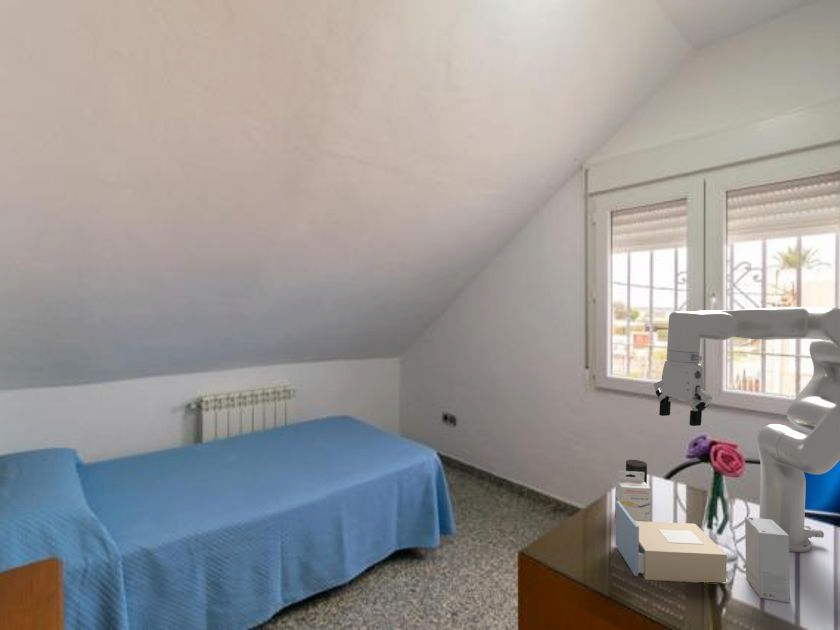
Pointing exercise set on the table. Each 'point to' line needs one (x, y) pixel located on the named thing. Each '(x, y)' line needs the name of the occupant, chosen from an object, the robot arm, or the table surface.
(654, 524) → the sleeve
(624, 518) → the tray
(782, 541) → the skincare box
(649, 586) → the table surface
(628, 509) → the ink cartridge box
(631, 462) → the deodorant
